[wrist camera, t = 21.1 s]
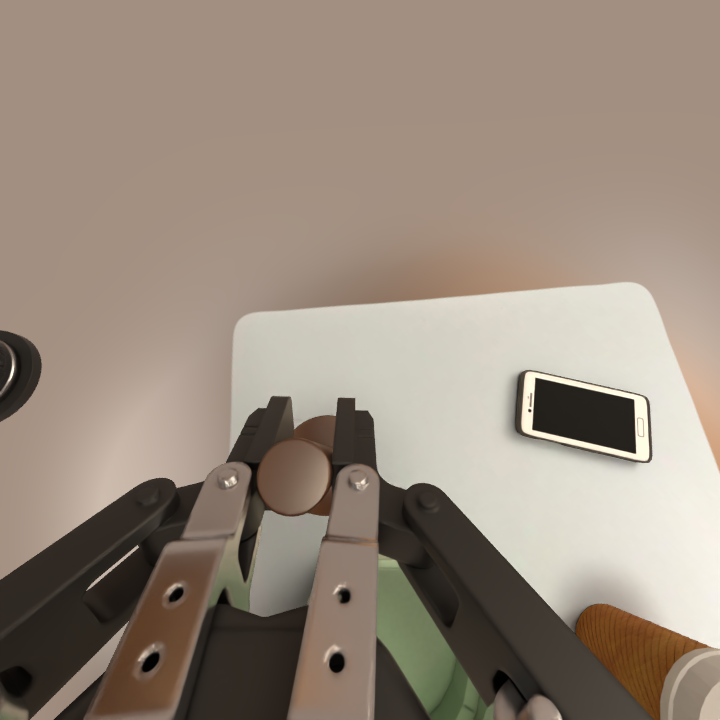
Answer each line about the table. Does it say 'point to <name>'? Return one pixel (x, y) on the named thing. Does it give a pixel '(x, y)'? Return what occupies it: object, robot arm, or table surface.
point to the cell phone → (584, 416)
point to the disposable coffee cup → (654, 663)
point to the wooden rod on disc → (300, 470)
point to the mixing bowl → (422, 649)
